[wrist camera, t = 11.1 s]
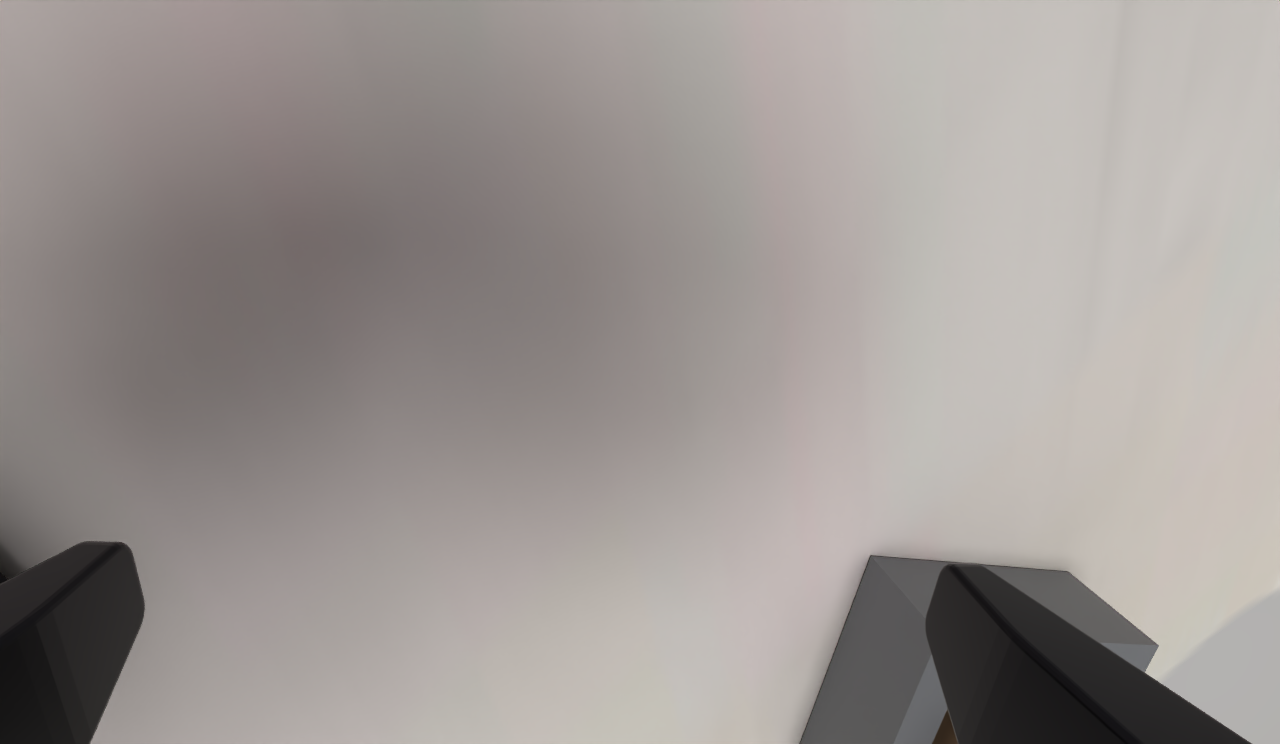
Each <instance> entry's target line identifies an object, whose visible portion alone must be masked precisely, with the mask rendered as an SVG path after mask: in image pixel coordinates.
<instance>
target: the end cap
mask: <svg viewBox="0 0 1280 744" xmlns="http://www.w3.org/2000/svg"><path fill="white" fill-rule="evenodd" d="M949 563H953V562H940V561H928V560H916V559H903V558H891V557H879V556H871V557H870V560H869V562H868V565H867V568H866V570H865V573H864V576H863V578H862V581H861V584H860V586H859V589H858V591H857V594H856V597H855V599H854V602H853V605H852V607H851V610H850V613H849V615H848V618H847V621H846V623H845V626H844V629H843V631H842V634H841V637H840V639H839V642H838V645H837V647H836V650H835V653H834V655H833V658H832V661H831V663H830V666H829V668H828V671H827V674H826V676H825V679H824V682H823V684H822V687H821V690H820V692H819V695H818V698H817V700H816V703H815V706H814V708H813V711H812V714H811V716H810V719H809V722H808V724H807V727H806V730H805V732H804V735H803V738H802V740H801V743H800V744H932V743H933V740H934V738H935V736H936V734H937V731H938V729H939V727H940V725H941V722H942V720H943V718H944V716H945V713H946V711H947V705H946V702H945V699H944V695H943V692H942V689H941V685H940V682H939V678H938V675H937V672H936V668H935V665H934V662H933V658H932V655H931V651H930V648H929V645H928V641H927V638H926V632H925V618H926V613H927V610H928V607H929V604H930V601H931V598H932V594H933V591H934V588H935V585H936V582H937V579H938V576H939V573H940V571H941V569H942V568H943V567H944V566H945V565H946V564H949ZM983 566H984V567H986V568H988V569H989V570H991V571H992V572H994V573H995V574H997V575H998V576H1000V577H1001V578H1003V579H1004V580H1006V581H1007V582H1009V583H1010V584H1012V585H1013V586H1015V587H1016V588H1018V589H1019V590H1021V591H1022V592H1024V593H1025V594H1027V595H1028V596H1030V597H1031V598H1033V599H1034V600H1036V601H1037V602H1039V603H1040V604H1042V605H1043V606H1045V607H1046V608H1048V609H1049V610H1051V611H1052V612H1054V613H1055V614H1057V615H1058V616H1060V617H1061V618H1063V619H1064V620H1066V621H1067V622H1069V623H1070V624H1072V625H1073V626H1075V627H1077V628H1078V629H1080V630H1081V631H1083V632H1084V633H1086V634H1087V635H1089V636H1090V637H1092V638H1093V639H1095V640H1096V641H1098V642H1099V643H1101V644H1102V645H1104V646H1105V647H1107V648H1108V649H1110V650H1111V651H1113V652H1114V653H1116V654H1117V655H1119V656H1120V657H1122V658H1123V659H1125V660H1126V661H1128V662H1129V663H1131V664H1132V665H1134V666H1135V667H1137V668H1138V669H1140V670H1141V671H1143V672H1144V673H1145V671H1146V669H1147V667H1148V665H1149V663H1150V661H1151V659H1152V658H1153V656H1154V654H1155V652H1156V650H1157V648H1158V646H1159V645H1158V644H1156V643H1155V642H1154V641H1153V640H1151V639H1150V638H1149V637H1148V636H1147V635H1145V634H1144V633H1143V632H1142V631H1140V630H1139V629H1138V628H1137V627H1136V626H1134V625H1133V624H1132V623H1131V622H1129V621H1128V620H1127V619H1126V618H1125V617H1123V616H1122V615H1121V614H1120V613H1118V612H1117V611H1116V610H1115V609H1113V608H1112V607H1111V606H1110V605H1109V604H1107V603H1106V602H1105V601H1104V600H1102V599H1101V598H1100V597H1099V596H1098V595H1096V594H1095V593H1094V592H1093V591H1091V590H1090V589H1089V588H1088V587H1086V586H1085V585H1084V584H1083V583H1082V582H1080V581H1079V580H1078V579H1077V578H1075V577H1074V576H1073V575H1072V574H1071V573H1069V572H1064V571H1052V570H1039V569H1027V568H1015V567H1002V566H990V565H983Z"/></svg>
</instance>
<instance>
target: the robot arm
mask: <svg viewBox="0 0 1280 744" xmlns="http://www.w3.org/2000/svg"><path fill="white" fill-rule="evenodd" d="M144 610H145V604H144V597H143V593H142V589H141V585H140V581H139V577H138V573H137V569H136V565H135V561H134V557H133V554H132V551H131V549H130V548H129V547H128V546H127V545H126V544H124V543H122V542H103V541H87V542H82V543H79V544H77V545H75V546H73V547H71V548H69V549H67V550H65V551H63V552H61V553H59V554H57V555H55V556H54V557H52V558H50V559H48V560H46V561H44V562H42V563H40V564H38V565H36V566H34V567H32V568H30V569H28V570H26V571H24V572H22V573H21V574H19V575H17V576H15V577H13V578H11V579H9V580H7V579H6V578H5V577H4V576H3V575H2V574H1V573H0V744H90V742H91V740H92V738H93V736H94V733H95V731H96V729H97V727H98V724H99V722H100V720H101V717H102V715H103V713H104V710H105V708H106V706H107V703H108V701H109V699H110V696H111V694H112V692H113V689H114V687H115V685H116V682H117V680H118V678H119V676H120V673H121V671H122V669H123V666H124V664H125V662H126V659H127V657H128V655H129V652H130V650H131V648H132V645H133V643H134V641H135V638H136V636H137V634H138V631H139V629H140V627H141V624H142V621H143V617H144ZM925 632H926V638H927V641H928V645H929V648H930V651H931V655H932V658H933V662H934V665H935V668H936V672H937V675H938V678H939V682H940V685H941V689H942V692H943V695H944V699H945V702H946V705H947V709H948V712H949V715H950V719H951V722H952V726H953V729H954V732H955V736H956V739H957V742H958V744H1251V743H1250V742H1248V741H1247V740H1245V739H1244V738H1242V737H1241V736H1239V735H1238V734H1236V733H1235V732H1233V731H1232V730H1230V729H1229V728H1227V727H1226V726H1224V725H1223V724H1221V723H1219V722H1218V721H1217V720H1215V719H1214V718H1212V717H1211V716H1209V715H1208V714H1206V713H1205V712H1203V711H1202V710H1200V709H1199V708H1197V707H1196V706H1194V705H1192V704H1191V703H1190V702H1188V701H1186V700H1185V699H1184V698H1182V697H1181V696H1179V695H1178V694H1176V693H1175V692H1173V691H1171V690H1170V689H1169V688H1167V687H1166V686H1164V685H1162V684H1161V683H1159V682H1158V681H1156V680H1155V679H1153V678H1152V677H1150V676H1149V675H1147V674H1146V673H1144V672H1143V671H1141V670H1140V669H1138V668H1137V667H1135V666H1134V665H1132V664H1131V663H1129V662H1128V661H1126V660H1125V659H1123V658H1122V657H1120V656H1119V655H1117V654H1116V653H1114V652H1113V651H1111V650H1110V649H1108V648H1107V647H1105V646H1104V645H1102V644H1101V643H1099V642H1098V641H1096V640H1095V639H1093V638H1092V637H1090V636H1089V635H1087V634H1086V633H1084V632H1083V631H1081V630H1080V629H1078V628H1077V627H1075V626H1073V625H1072V624H1070V623H1069V622H1067V621H1066V620H1064V619H1063V618H1061V617H1060V616H1058V615H1057V614H1055V613H1054V612H1052V611H1051V610H1049V609H1048V608H1046V607H1045V606H1043V605H1042V604H1040V603H1039V602H1037V601H1036V600H1034V599H1033V598H1031V597H1030V596H1028V595H1027V594H1025V593H1024V592H1022V591H1021V590H1019V589H1018V588H1016V587H1015V586H1013V585H1012V584H1010V583H1009V582H1007V581H1006V580H1004V579H1003V578H1001V577H1000V576H998V575H997V574H995V573H994V572H992V571H991V570H989V569H988V568H986V567H984V566H983V565H980V564H972V563H949V564H946V565H945V566H944V567H943V568H942V569H941V571H940V573H939V576H938V579H937V582H936V585H935V588H934V591H933V594H932V598H931V601H930V604H929V607H928V610H927V613H926V618H925Z"/></svg>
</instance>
